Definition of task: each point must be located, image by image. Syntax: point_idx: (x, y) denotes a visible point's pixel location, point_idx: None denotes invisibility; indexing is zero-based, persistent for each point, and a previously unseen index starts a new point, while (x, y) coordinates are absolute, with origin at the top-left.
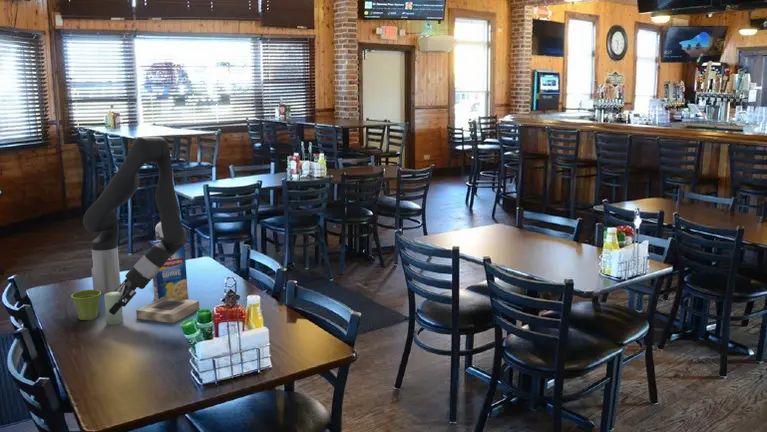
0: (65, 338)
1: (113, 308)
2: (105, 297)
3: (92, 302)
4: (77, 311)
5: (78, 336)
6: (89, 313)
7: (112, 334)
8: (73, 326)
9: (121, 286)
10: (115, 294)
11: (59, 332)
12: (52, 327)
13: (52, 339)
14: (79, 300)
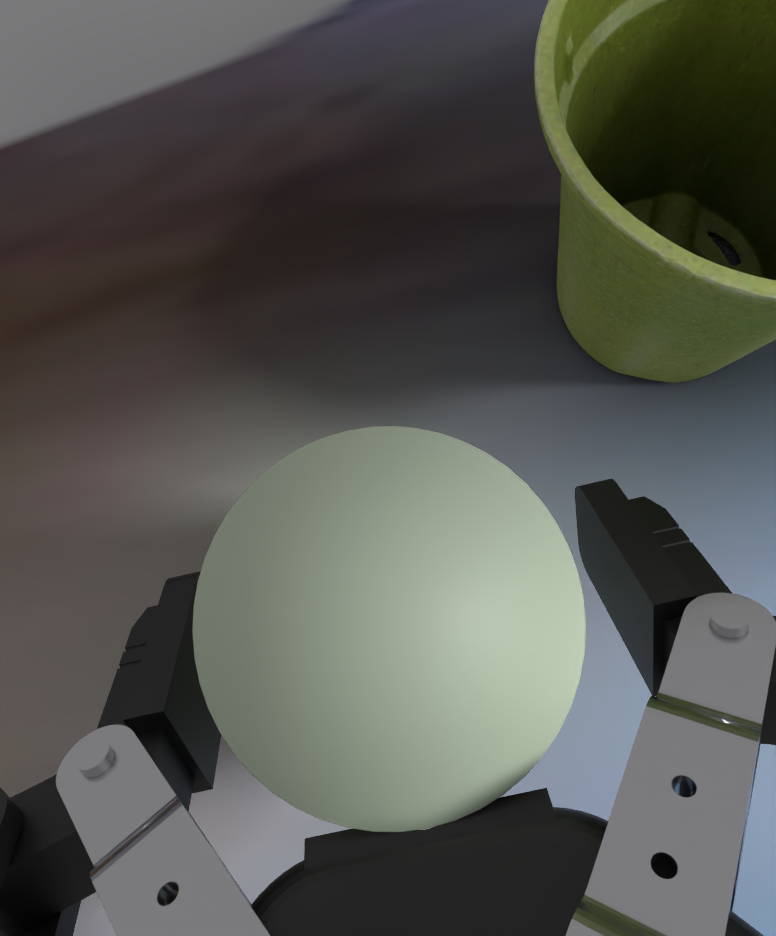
0: (84, 215)
1: (126, 655)
2: (272, 478)
3: (608, 252)
4: (623, 136)
5: (95, 314)
6: (567, 286)
7: (28, 639)
8: (401, 206)
9: (575, 930)
10: (333, 700)
11: (264, 127)
12: (424, 35)
13: (100, 119)
14: (560, 44)
